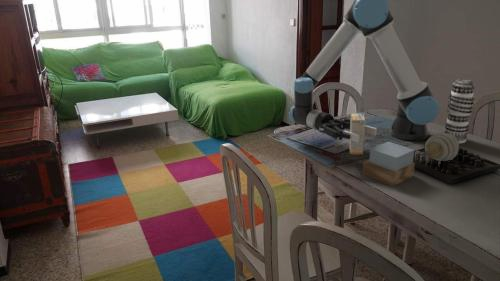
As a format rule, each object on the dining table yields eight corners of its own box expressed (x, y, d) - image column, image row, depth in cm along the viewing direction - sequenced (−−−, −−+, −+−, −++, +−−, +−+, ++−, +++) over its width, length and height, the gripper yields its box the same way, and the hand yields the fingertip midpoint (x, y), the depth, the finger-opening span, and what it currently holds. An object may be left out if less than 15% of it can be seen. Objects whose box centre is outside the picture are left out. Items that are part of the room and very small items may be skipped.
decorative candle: (437, 138, 160) (446, 80, 151) (451, 134, 164) (460, 77, 155) (457, 145, 153) (468, 84, 144) (471, 140, 157) (482, 80, 148)
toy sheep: (414, 164, 138) (418, 136, 134) (436, 151, 148) (440, 124, 144) (444, 173, 130) (449, 143, 126) (465, 159, 140) (470, 131, 136)
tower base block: (383, 165, 139) (384, 152, 137) (413, 176, 130) (415, 163, 128) (362, 174, 133) (363, 161, 131) (392, 187, 123) (393, 173, 122)
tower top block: (386, 154, 136) (388, 141, 134) (412, 163, 128) (414, 149, 126) (369, 162, 130) (370, 148, 128) (394, 171, 123) (396, 157, 121)
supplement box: (363, 154, 136) (365, 120, 131) (349, 154, 137) (351, 119, 132) (362, 146, 143) (364, 113, 138) (348, 145, 144) (350, 112, 139)
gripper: (338, 123, 158) (385, 137, 141) (300, 136, 147) (346, 153, 129) (339, 106, 155) (387, 118, 138) (300, 118, 144) (347, 132, 127)
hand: (367, 135), depth 134 cm, fingers closed on supplement box, 9 cm apart
